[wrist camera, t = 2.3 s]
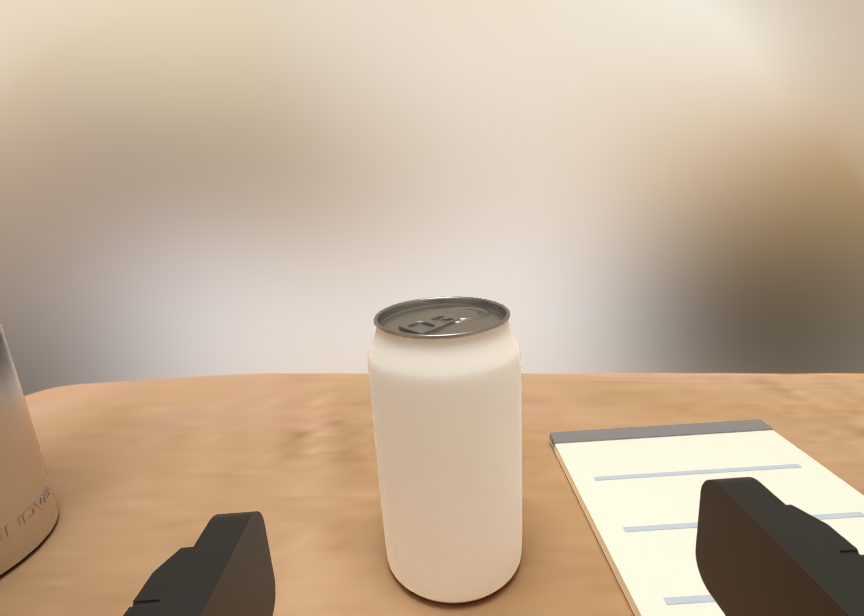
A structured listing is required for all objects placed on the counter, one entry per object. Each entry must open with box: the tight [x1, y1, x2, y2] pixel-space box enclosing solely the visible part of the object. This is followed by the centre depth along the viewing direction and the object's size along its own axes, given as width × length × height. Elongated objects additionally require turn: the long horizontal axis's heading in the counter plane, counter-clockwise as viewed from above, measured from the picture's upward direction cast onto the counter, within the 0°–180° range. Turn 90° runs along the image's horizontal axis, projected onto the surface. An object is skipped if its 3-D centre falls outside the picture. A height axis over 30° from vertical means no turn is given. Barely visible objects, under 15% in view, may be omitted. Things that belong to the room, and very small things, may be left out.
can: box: [368, 297, 522, 604], centre depth 21 cm, size 6×6×12 cm
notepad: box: [550, 419, 864, 616], centre depth 23 cm, size 14×18×1 cm
